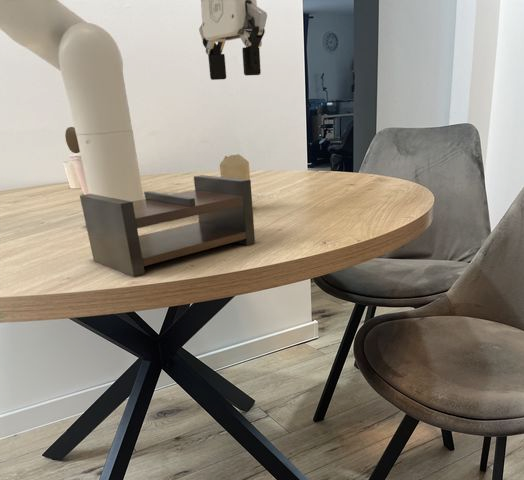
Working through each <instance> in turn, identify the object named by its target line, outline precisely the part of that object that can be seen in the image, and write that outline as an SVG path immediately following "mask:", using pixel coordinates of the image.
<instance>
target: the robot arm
mask: <svg viewBox="0 0 524 480" xmlns="http://www.w3.org/2000/svg"><path fill="white" fill-rule="evenodd" d="M200 9H201V25H200V26H199V29H198V31H199V34H200V35H199V36H200V38H201V41H202V46H203V47H204V48H205V54H206V55H207V56H208V58H207V59H208V66H209V77H210V80H211V81H216V80H217V81H218V80H219V81H220V80H226V79H227V69H226V56H225V54H224V53H223V50H224V47H225V44H226V41H234V40H238V39H240V41H242V43H243V45H244V47H242V68H243V74H244V76H259V75H261V72H262V71H261V55H260V53H261V52H260V51H261V50H260V48H261V47H262V45H263V41H262V39H263V37H264V36H265V28H266V24H267V18H268V13H267V12H266V11H265V10H263V9H262V8H260V7H259V6H258V3H257V0H200ZM0 30H1V31H2V32H3V33H4V34H6V35H7V37H9V38H10V39H11V40H12V41H14V43H17V44H18V45H20V46H22V47H23V48H25V49H27V50H28V51H30V52H32V53H33V54H34V55H36V56H38V57H39V58H40V59H41V60H43V61H45V62H46V63H48V64H49V65H51V66H52V67H53V68H55V69H57V71H59V72H60V73H61V76H62V77H61V78H62V82H63V84H64V88H65V92H66V96H67V100H68V104H69V109H70V112H71V117H72V122H73V127H74V128H75V132H76V135H77V140H78V145H79V150H80V154H81V159H82V164H83V169H84V174H85V178H86V183H87V188H88V193H89V194H94V195H100V196H105V197H110V198H115V199H121V200H126V201H131V202H132V201H138V200H143V199H145V196H144V191H143V185H142V179H141V173H140V168H139V162H138V156H137V148H136V143H135V138H134V131H133V125H132V120H131V114H130V113H131V112H130V106H129V101H128V96H127V89H126V83H125V77H124V70H123V69H124V62H123V57H122V53H121V50H120V48H119V46H118V44H117V42H116V40H115V39H114V37H113V36H112V35H111V34H110V33H109V32H108V31H106V30H105V29H104V28H103V27H101V26H100V25H97V24H95V23H91V22H87V21H86V20H85V19H83V18H82V17H81V16H79V15H78V14H77V13H76V12H74V11H72V10H71V9H70V8H69V7H67V6H66V5H64V4H63V3H62V2H61V1H59V0H0Z"/></svg>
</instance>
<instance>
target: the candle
mask: <svg viewBox="0 0 524 480" xmlns="http://www.w3.org/2000/svg"><path fill="white" fill-rule="evenodd" d="M249 163H250V162H249V161H248V160H247V159H246V158H244V157H243V155H240V154H231V155H228V156H227V155H224V157H223V159H222V160H221V161H220V163H219V172H220V177H227V178H238V179H248V180H251V174H250V164H249Z"/></svg>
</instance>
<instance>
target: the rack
mask: <svg viewBox="0 0 524 480" xmlns="http://www.w3.org/2000/svg"><path fill="white" fill-rule="evenodd" d="M193 183H194V189H192V190H186V191H181V192H176V193H171V194H169V193H162V192H158V191H157V192H155V191H143V195H144V199H143V200H138V201H132V202H131V201H126V200H121V199H115V198H110V197H105V196H100V195H94V194H86V195H84V194H81V195H79V199H80V204H81V208H82V213H83V218H84V221H85V226H86V232H87V236H88V241H89V245H90V250H91V255H92V259H93V262H96V263H98V264H101V265H103V266H105V267H109V268H111V269H113V270H116V271H118V272H121V273H124V274H126V275H128V276H130V277H133V278H135V277H139V276H143V275H146V272H145V267H146V266H150V265H153V264H158V263H161V262H164V261H168V260H169V261H170V260H173V259H176V258H179V257H183V256H187V255H192V254H196V253H199V252H203V251H206V250H210V249H213V248H217V247H220V246H223V245H224V246H225V245H228V244H231V243H235V244H240V245H244V246H250V245H253V244H256V237H255V235H256V234H255V223H254V221H255V220H254V210H253V209H254V208H253V195H252V194H253V193H252V183H251V179H250V180H248V179H238V178H227V177H221V176H215V175H206V174H200V175H199V174H198V175H194V176H193ZM195 216H198V221H197V222H193V223H188V224H184V225H180V226H175V227H172V228H171V227H170V228H167V229H162V230H158V231H154V232H153V231H152V232H150V233H144V234H141V235H139V232H138V229H141V228H145V227H150V226H154V225H158V224H159V225H160V224H163V223H167V222H173V221H177V220H181V219H186V218H191V217H195Z"/></svg>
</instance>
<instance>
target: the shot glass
mask: <svg viewBox="0 0 524 480" xmlns="http://www.w3.org/2000/svg"><path fill="white" fill-rule="evenodd" d="M62 166H63V169H64V172H65V175H66V178H67V181H68V184H69V188H70V189H82V188H81V186H80V183H79V180H78V177H77V174H76V171H75V168H74V165H73V162H72V160H67V161H63V162H62Z"/></svg>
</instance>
